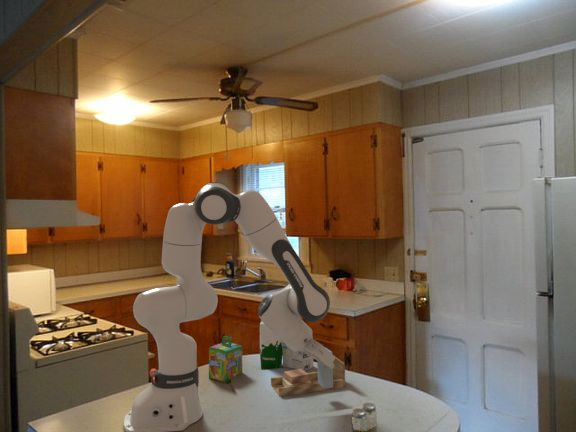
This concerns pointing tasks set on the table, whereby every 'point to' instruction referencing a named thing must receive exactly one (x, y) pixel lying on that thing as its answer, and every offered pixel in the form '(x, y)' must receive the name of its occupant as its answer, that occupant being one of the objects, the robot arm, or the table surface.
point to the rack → (313, 378)
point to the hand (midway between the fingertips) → (326, 363)
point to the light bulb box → (296, 359)
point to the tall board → (325, 375)
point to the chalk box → (225, 360)
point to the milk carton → (270, 348)
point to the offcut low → (286, 384)
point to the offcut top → (296, 376)
